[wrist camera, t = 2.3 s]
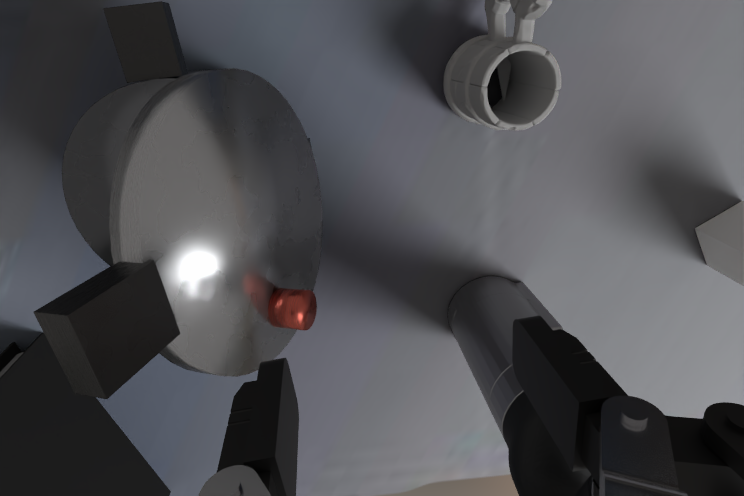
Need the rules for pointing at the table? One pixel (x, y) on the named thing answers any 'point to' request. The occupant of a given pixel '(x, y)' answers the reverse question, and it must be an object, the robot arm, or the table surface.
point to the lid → (199, 239)
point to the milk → (724, 242)
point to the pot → (118, 115)
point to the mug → (504, 71)
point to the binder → (61, 435)
